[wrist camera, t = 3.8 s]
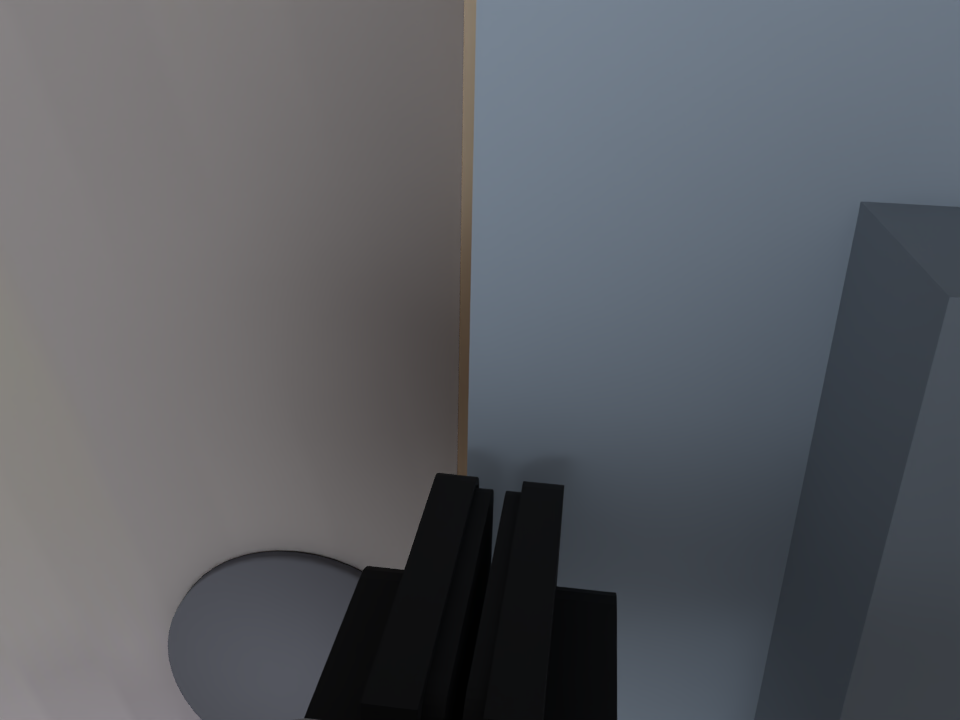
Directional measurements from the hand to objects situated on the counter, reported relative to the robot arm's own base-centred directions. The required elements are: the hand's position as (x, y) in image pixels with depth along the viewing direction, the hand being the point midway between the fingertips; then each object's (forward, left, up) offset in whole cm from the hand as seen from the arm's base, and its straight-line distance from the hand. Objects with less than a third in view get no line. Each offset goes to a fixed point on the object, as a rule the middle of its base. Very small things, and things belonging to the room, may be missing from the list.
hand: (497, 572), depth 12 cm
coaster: (+6, +10, -8) cm, 13 cm away
